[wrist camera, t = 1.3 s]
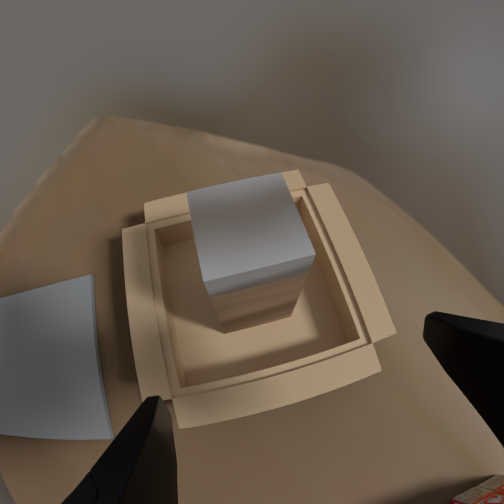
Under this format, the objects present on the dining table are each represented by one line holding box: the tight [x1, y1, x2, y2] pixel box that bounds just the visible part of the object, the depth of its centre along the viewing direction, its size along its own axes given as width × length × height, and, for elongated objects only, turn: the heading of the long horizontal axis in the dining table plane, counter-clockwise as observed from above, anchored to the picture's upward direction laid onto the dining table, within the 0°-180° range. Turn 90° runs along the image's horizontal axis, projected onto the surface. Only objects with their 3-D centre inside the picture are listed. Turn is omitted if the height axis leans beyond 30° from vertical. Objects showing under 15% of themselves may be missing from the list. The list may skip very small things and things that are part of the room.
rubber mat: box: [0, 274, 114, 440], centre depth 20 cm, size 14×14×1 cm
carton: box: [122, 170, 397, 429], centre depth 22 cm, size 17×17×4 cm
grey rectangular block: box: [186, 172, 316, 334], centre depth 18 cm, size 5×5×10 cm
